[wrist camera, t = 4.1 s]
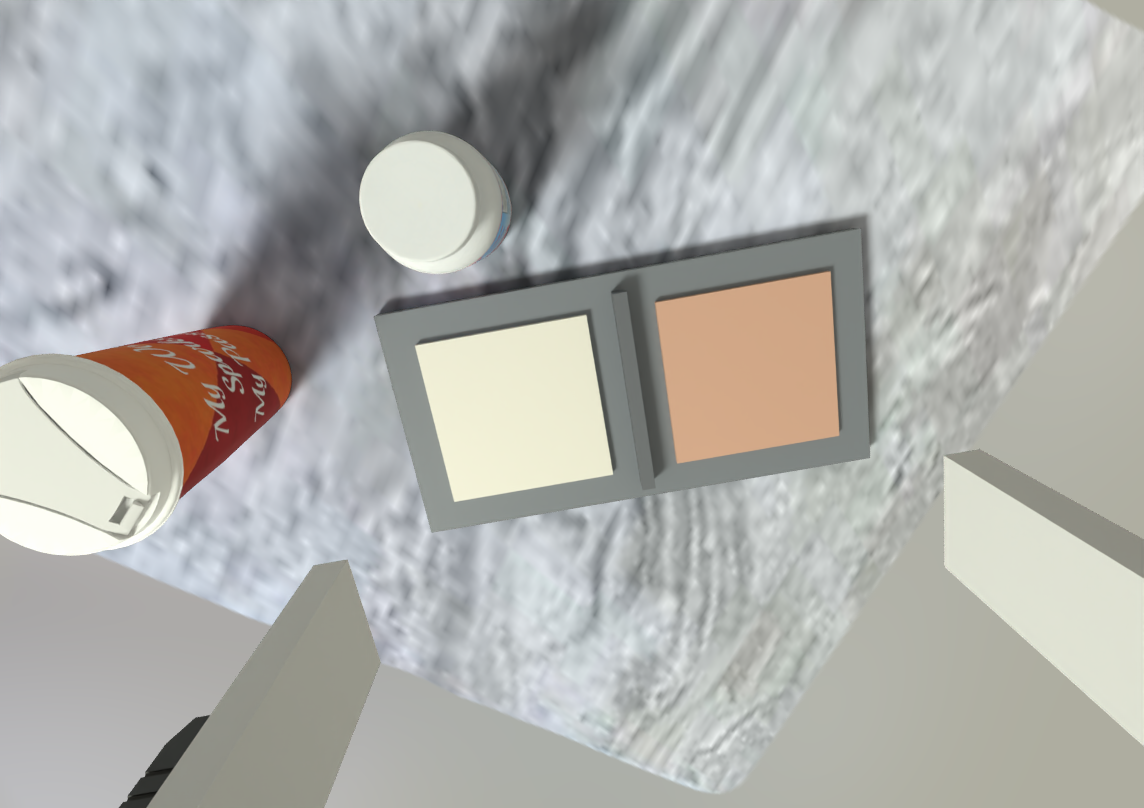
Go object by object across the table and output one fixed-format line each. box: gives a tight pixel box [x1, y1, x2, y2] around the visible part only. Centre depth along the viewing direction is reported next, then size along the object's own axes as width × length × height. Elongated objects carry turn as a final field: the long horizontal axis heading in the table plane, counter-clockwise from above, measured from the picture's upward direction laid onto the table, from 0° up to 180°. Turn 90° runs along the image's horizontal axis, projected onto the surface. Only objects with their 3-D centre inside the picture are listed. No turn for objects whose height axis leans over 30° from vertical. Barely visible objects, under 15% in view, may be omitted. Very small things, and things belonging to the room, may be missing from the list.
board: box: [374, 228, 870, 533], centre depth 37 cm, size 14×28×2 cm, turn 100°
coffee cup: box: [0, 325, 292, 555], centre depth 30 cm, size 8×8×15 cm
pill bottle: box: [359, 131, 512, 274], centre depth 30 cm, size 6×6×11 cm
